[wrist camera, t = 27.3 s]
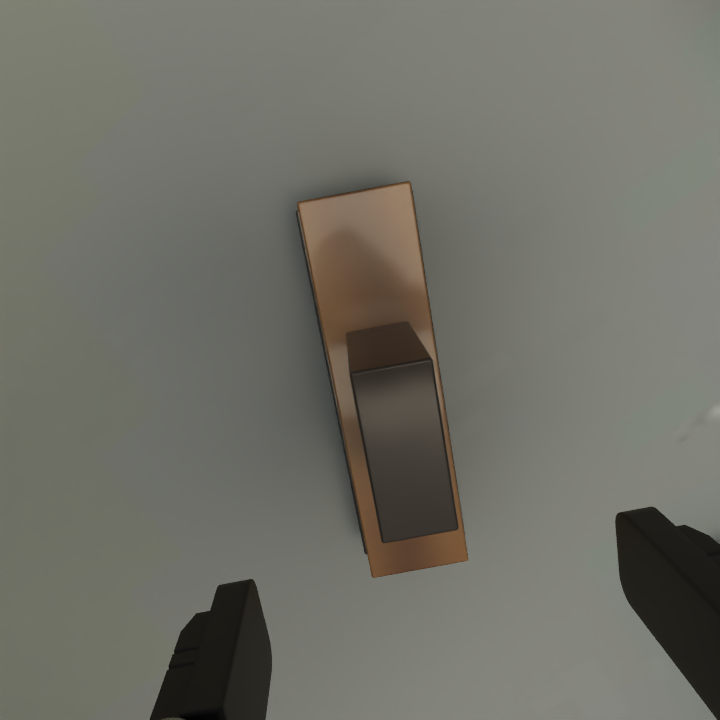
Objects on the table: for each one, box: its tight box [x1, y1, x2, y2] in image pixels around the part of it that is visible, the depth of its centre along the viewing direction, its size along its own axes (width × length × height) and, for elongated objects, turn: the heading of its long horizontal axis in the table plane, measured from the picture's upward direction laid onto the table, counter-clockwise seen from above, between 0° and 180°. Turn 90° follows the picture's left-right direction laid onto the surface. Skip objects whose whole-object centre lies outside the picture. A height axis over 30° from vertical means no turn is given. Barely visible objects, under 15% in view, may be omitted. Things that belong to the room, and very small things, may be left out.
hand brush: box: [296, 181, 468, 578], centre depth 24 cm, size 5×17×10 cm, turn 10°
